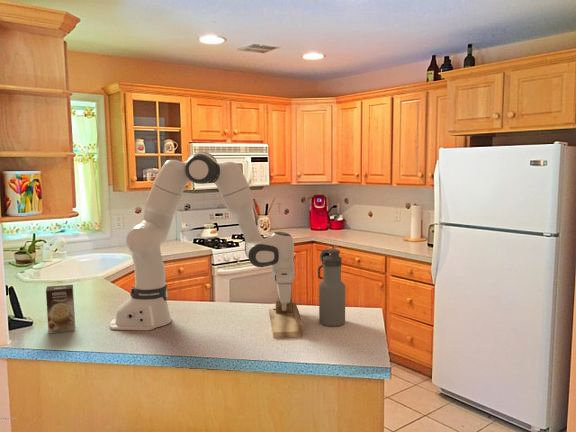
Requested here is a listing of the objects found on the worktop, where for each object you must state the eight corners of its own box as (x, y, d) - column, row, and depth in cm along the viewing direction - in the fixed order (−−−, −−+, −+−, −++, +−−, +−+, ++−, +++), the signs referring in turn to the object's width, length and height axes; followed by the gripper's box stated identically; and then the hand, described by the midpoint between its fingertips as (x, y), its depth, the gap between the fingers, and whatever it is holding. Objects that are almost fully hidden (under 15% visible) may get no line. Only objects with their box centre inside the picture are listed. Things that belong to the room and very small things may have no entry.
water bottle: (313, 321, 189) (313, 248, 186) (333, 316, 195) (333, 246, 191) (329, 328, 181) (329, 253, 177) (350, 323, 186) (350, 250, 183)
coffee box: (47, 334, 179) (44, 290, 177) (49, 328, 185) (46, 286, 183) (75, 330, 182) (72, 288, 180) (76, 325, 188) (73, 283, 186)
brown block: (273, 313, 192) (273, 301, 192) (272, 310, 196) (272, 298, 196) (291, 312, 193) (291, 300, 192) (290, 309, 197) (290, 297, 196)
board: (273, 337, 173) (273, 325, 172) (269, 313, 199) (268, 303, 198) (303, 336, 174) (303, 324, 173) (295, 312, 200) (295, 302, 199)
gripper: (273, 267, 203) (273, 300, 205) (276, 280, 183) (277, 316, 184) (288, 267, 203) (288, 299, 205) (293, 279, 183) (294, 315, 185)
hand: (283, 307), depth 195 cm, fingers closed on brown block, 4 cm apart
